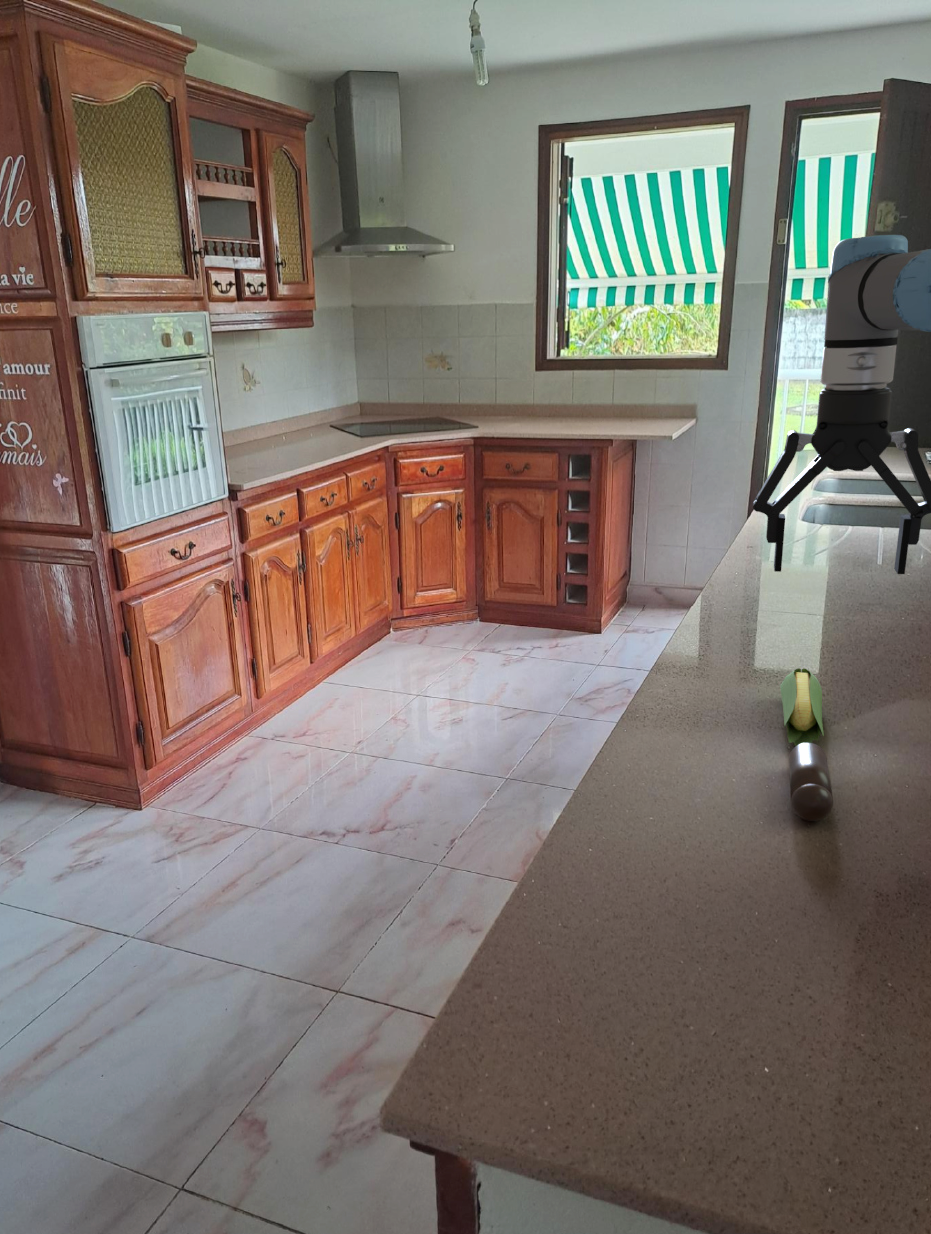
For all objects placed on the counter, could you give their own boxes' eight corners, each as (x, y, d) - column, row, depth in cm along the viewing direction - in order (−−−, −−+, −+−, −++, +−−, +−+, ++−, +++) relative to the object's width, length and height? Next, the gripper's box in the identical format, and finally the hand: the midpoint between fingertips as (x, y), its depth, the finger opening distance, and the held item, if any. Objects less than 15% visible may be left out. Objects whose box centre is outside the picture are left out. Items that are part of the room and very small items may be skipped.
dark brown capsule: (786, 767, 111) (789, 735, 109) (824, 770, 110) (827, 738, 108) (790, 826, 98) (793, 790, 97) (832, 830, 97) (836, 794, 96)
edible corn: (819, 697, 130) (822, 665, 128) (826, 759, 112) (829, 723, 111) (778, 694, 132) (781, 662, 130) (778, 755, 114) (781, 719, 112)
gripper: (739, 392, 110) (728, 575, 117) (987, 385, 102) (959, 580, 110) (739, 387, 116) (729, 560, 124) (972, 380, 109) (946, 565, 116)
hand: (837, 570), depth 117 cm, fingers open, 13 cm apart
